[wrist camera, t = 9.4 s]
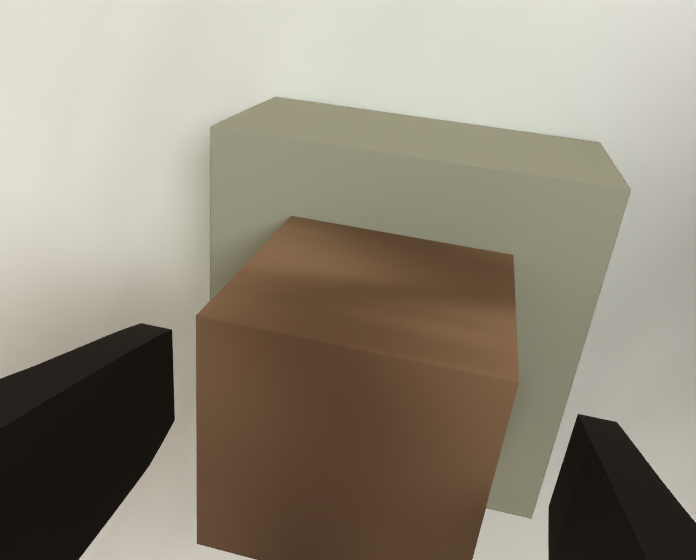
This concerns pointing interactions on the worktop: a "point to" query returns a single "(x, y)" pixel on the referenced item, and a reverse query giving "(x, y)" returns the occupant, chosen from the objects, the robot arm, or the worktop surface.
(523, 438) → the sage base block
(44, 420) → the robot arm
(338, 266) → the walnut cube
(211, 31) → the worktop surface
